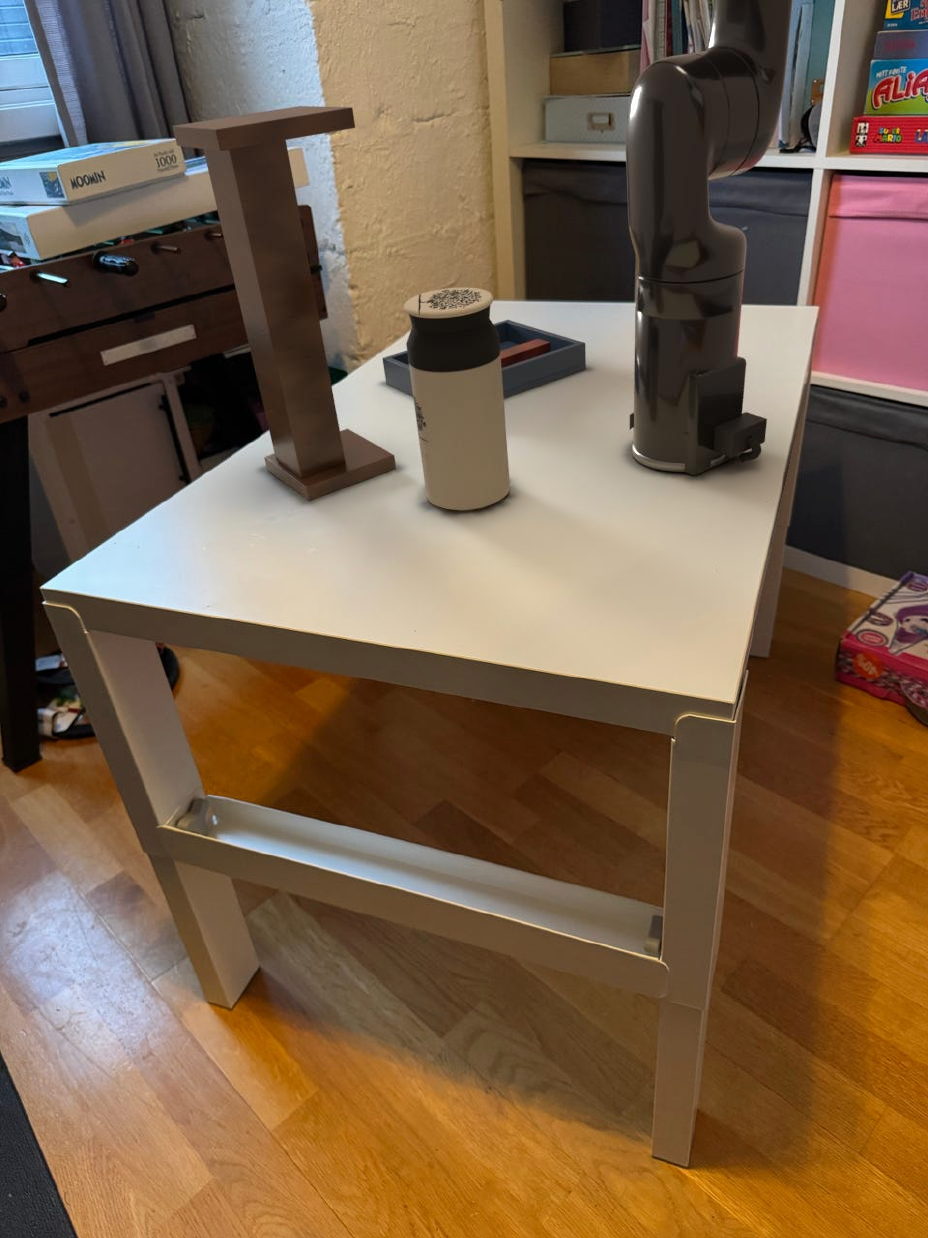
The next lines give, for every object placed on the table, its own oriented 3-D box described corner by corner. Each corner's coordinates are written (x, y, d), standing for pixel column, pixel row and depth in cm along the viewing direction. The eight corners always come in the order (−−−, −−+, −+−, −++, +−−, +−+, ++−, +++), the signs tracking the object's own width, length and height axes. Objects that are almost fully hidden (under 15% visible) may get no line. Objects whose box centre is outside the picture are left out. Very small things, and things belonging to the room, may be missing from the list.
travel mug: (512, 473, 86) (499, 283, 76) (507, 511, 80) (491, 309, 70) (433, 476, 87) (409, 289, 77) (420, 514, 81) (393, 316, 71)
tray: (585, 369, 108) (585, 342, 107) (455, 415, 100) (452, 387, 98) (509, 343, 119) (507, 319, 118) (386, 383, 111) (382, 357, 109)
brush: (450, 400, 102) (445, 359, 99) (419, 387, 106) (414, 348, 104) (561, 361, 109) (560, 322, 107) (529, 350, 114) (527, 313, 111)
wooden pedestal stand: (299, 504, 85) (215, 129, 67) (258, 472, 92) (171, 125, 74) (404, 465, 90) (352, 106, 72) (357, 438, 97) (299, 105, 79)
